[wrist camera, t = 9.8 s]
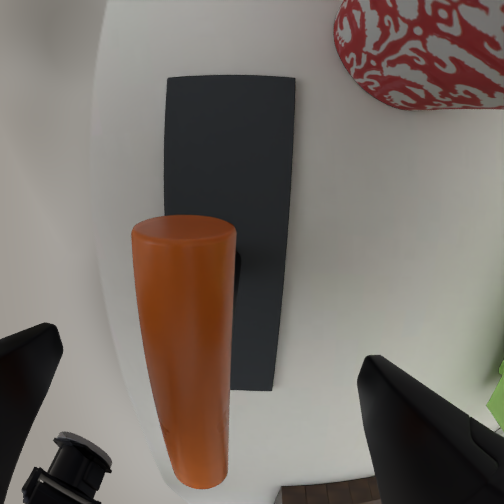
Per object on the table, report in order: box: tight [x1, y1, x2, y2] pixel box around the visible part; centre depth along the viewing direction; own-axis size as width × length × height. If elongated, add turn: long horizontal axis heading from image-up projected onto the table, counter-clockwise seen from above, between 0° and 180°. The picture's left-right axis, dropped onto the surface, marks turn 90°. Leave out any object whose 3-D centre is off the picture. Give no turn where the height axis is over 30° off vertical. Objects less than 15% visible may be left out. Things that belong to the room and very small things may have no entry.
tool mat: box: [164, 75, 295, 391], centre depth 15 cm, size 18×6×1 cm, turn 178°
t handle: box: [131, 215, 242, 489], centre depth 10 cm, size 2×8×10 cm, turn 176°
